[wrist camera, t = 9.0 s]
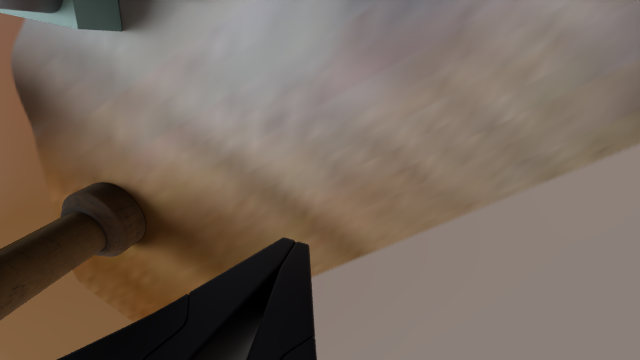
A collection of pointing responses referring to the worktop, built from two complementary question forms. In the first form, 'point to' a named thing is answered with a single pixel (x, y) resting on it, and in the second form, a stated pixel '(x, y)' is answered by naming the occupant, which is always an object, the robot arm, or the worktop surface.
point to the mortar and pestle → (69, 242)
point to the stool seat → (68, 12)
